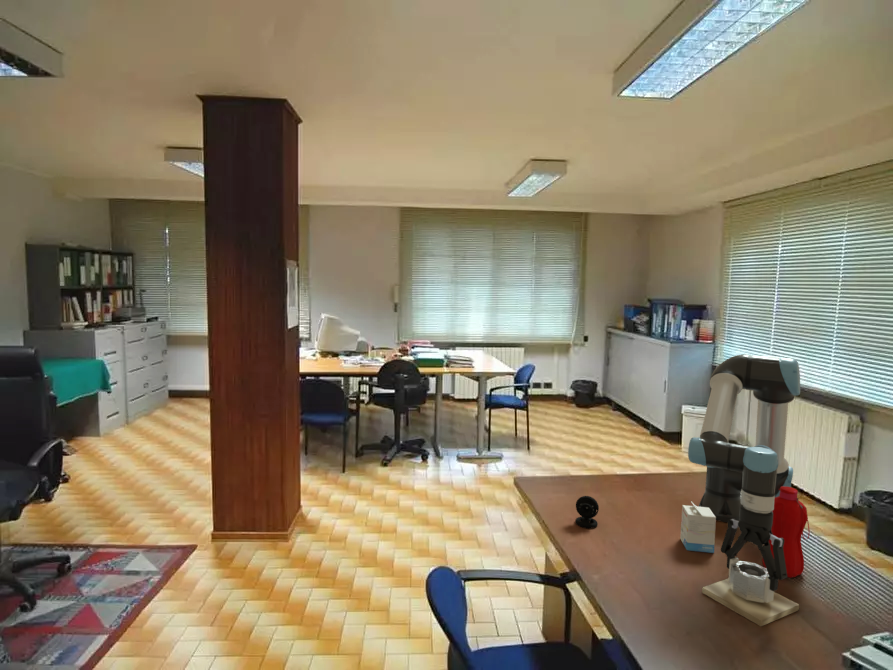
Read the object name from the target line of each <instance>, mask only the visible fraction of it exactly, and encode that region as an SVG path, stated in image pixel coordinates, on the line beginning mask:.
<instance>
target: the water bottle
mask: <svg viewBox="0 0 893 670" xmlns="http://www.w3.org/2000/svg"><path fill="white" fill-rule="evenodd" d="M779 490H780V496H778V497H775V499H774V510H773V511H772V512H773V524H772V528H771V531H772V533H773V535H774V536H776V537H778V538H783V539H784V546H783V550H784V557H785V564H786V570H787V578H789V579H791V578H795V577H797V576H801V575H803V573H804V570H805V558H804V552H803V548H802V547H803V546H802V538H803V539H804V540H808V539H809V538H810V525H809V524H810V523H809V517H808V510H807V507H806V506H805V504H804V503H803V502H802V501H800V500H799V497H798V494H799V491H798V489H797V488H794V487H792V486H791V487H786V486H782V487H780V489H779ZM806 525H807V527H808V529H807V531H808V533H807V535H808V536H807V538H805V536H804V533H803V532H804V530H805V527H806ZM769 543H770V546H771V548H770V549H771V552H772V555H773V558H774V554H773V545H772V544H771V543H772V541H771V539H770V540H769ZM761 558H762V560H761V561H762V565H763V567H765V568H766V565H765V563H764V560H763V557H762V556H761Z"/></svg>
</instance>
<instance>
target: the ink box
mask: <svg viewBox="0 0 893 670" xmlns="http://www.w3.org/2000/svg"><path fill="white" fill-rule="evenodd" d="M690 502H691V504H692V505H686V504H682V507H681V508H682V509H681V521H680V522H681V523H680V535H679V537H680V540H681V542H682V544H683V546H684V549H685V550H686V551H692V552H701V553H709V554H710V553H711V554H714V553H715V543H716V542H715V541H716V524H717V522H716V521H717V520H716V517H715V515H714V514H713V513H712V511H711V510H710V508H708V507H699V505H698V506H697V505H696V504H695V503H694V502H693V501H690Z"/></svg>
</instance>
